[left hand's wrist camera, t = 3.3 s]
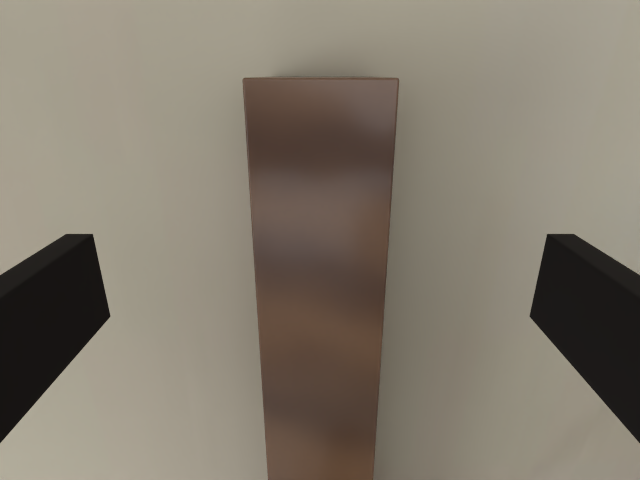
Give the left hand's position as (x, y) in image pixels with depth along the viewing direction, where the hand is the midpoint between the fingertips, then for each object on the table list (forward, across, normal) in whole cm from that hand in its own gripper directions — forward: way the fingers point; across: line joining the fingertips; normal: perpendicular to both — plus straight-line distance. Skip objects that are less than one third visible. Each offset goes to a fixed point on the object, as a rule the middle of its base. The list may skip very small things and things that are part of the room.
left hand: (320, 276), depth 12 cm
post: (+13, 0, -22) cm, 25 cm away
